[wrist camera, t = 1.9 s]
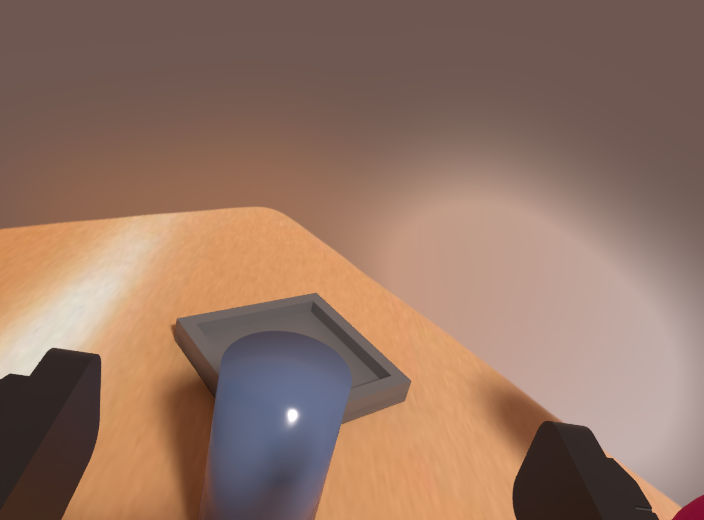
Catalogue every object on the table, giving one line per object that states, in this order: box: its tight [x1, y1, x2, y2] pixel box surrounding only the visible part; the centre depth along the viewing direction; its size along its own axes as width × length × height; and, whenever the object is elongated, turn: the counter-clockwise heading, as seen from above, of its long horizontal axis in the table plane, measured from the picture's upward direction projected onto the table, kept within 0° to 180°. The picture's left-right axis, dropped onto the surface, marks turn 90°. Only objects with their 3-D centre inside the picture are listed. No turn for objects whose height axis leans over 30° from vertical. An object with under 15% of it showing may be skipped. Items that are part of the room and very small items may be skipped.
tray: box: [175, 293, 411, 424], centre depth 41 cm, size 12×12×2 cm
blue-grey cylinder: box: [198, 331, 352, 520], centre depth 26 cm, size 5×5×11 cm
